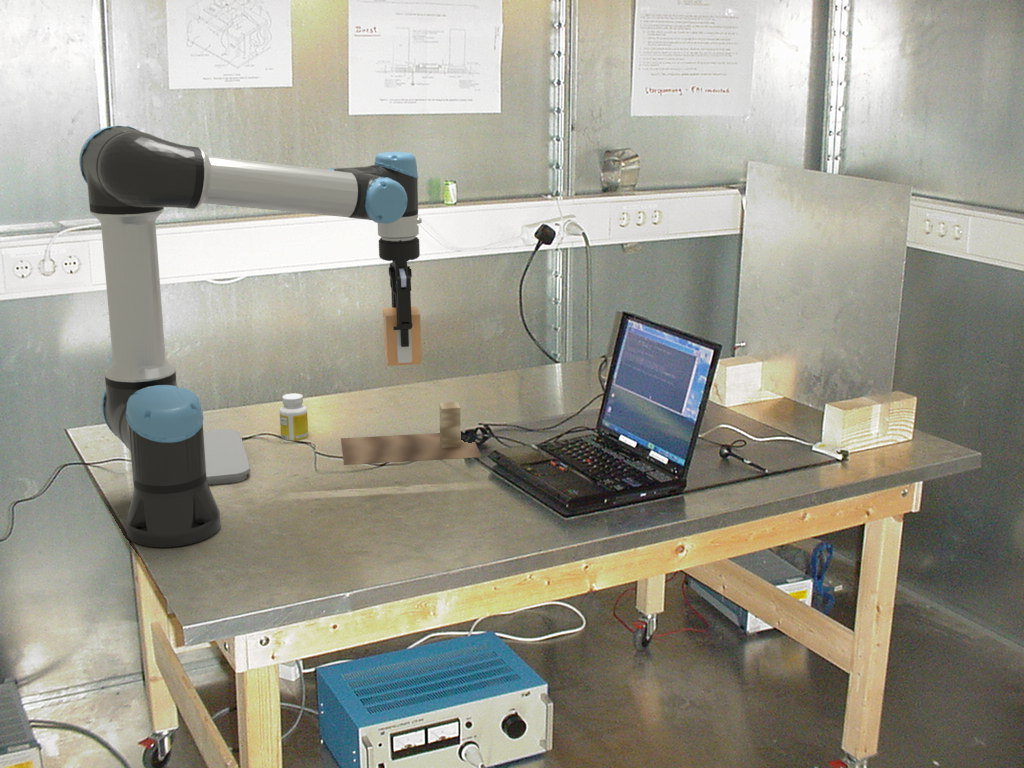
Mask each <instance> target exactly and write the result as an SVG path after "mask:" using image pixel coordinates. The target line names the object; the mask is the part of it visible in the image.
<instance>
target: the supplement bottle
mask: <svg viewBox="0 0 1024 768" xmlns="http://www.w3.org/2000/svg"><path fill="white" fill-rule="evenodd" d="M281 399H282V404H283V405H282V406H281V407H280V408H279V423H280V426H279V427H280V438H281V439H282V440H284V441H300V440H304V439H307V438H308V437H309V424H308V423H309V421H308V419H309V418H308V408H307V407H306V405H304V404H303V403H304V396H303V394H301V393H293V392H292V393H286V394H283V395H282V397H281Z"/></svg>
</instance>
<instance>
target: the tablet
mask: <svg viewBox="0 0 1024 768" xmlns="http://www.w3.org/2000/svg"><path fill="white" fill-rule="evenodd" d="M203 434H204V448H205V463H206V478H207V484H209V485H208V486H211V484H213V485H219V484H218V483H222V484H228V483H230V482H232V483H238V482H241V481H242V482H243V481H244V480H245V479H247V477H248V475H247V474H249V473H250V472H251V466H250V462H249V459H248V456H247V452H246V449H245V446H244V443H243V440H242V436H241V432H240V431H238V430H236V429H231V428H223V429H222V428H220V429H212V430H211V429H210V430H203Z"/></svg>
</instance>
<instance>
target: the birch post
mask: <svg viewBox="0 0 1024 768" xmlns="http://www.w3.org/2000/svg"><path fill="white" fill-rule="evenodd" d="M461 430H462V429H461V407H460V404H459V402H457V401H455V402H439V433H440V443H441V446H442V448H451V447H461V432H462V431H461Z"/></svg>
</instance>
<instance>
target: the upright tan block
mask: <svg viewBox="0 0 1024 768" xmlns="http://www.w3.org/2000/svg"><path fill="white" fill-rule="evenodd" d="M411 316H412V325H413V326H412V328H411V339H412V362H409V363H398V361H397V334H396V330H394V329H393V327H397V313H396V307H395V308H392V307H382V318H383V321H382V322H383V341H384V342H383V343H384V347H383V348H384V359H385V361H386V365H387V366H389V367H390V366H391V367H392V366H393V367H394V366H406V365H408V366H409V365H422V364H423V363H422V330H421V314H420V311H419V309H418V307H417V306H411Z"/></svg>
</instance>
